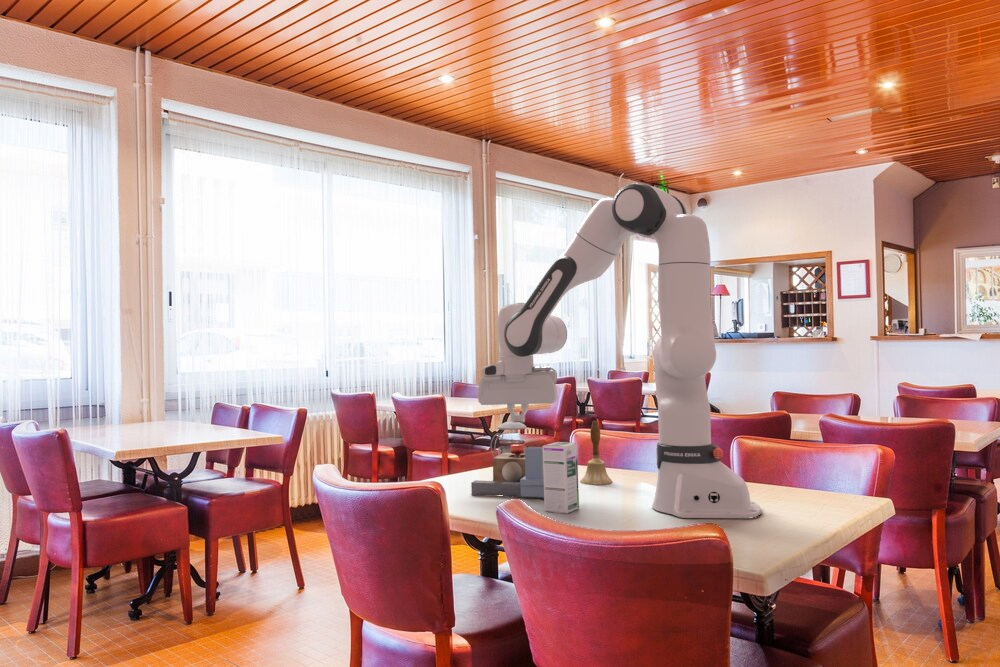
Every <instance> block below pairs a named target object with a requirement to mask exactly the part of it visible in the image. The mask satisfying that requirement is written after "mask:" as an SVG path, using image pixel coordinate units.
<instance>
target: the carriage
mask: <svg viewBox="0 0 1000 667" xmlns="http://www.w3.org/2000/svg"><path fill="white" fill-rule="evenodd" d="M520 485H521V496H527V497H544V478H543V446H528V447H526V449H525V477H523V478H522V479H520ZM527 497H526V498H527Z"/></svg>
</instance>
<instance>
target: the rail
mask: <svg viewBox="0 0 1000 667" xmlns="http://www.w3.org/2000/svg"><path fill="white" fill-rule="evenodd" d="M470 487H471V496H483V495H503V496H502V497H505V496H509V498H530V499H544V497H527V496H521V485H520V482H504V481H493V480H476V479H475V480H473V481H472V482H471V486H470ZM512 496H513V497H512Z"/></svg>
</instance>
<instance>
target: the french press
mask: <svg viewBox="0 0 1000 667" xmlns="http://www.w3.org/2000/svg"><path fill="white" fill-rule="evenodd" d="M496 428H497V429H498V430H499V431H500V430H501V431H516V430H517V431H518V430H520V431H521V430H525V429H527V425H525V424H524V423H523V422H512V416H511V420H509V421H505V422H503V423H501V424H499V425H498V426H497V427H496ZM501 435H502V436H501ZM496 436H497V437H496ZM495 437H496V439H495V442H494V444H493V441H494V438H495ZM503 438H504V433H499V432H497V433H496V434H494V436H493V437H492V439H491V441H490V452H491V455H492V457H493V458H494V457H496V456H498V455H500V454H502V453H511V445H512V444H523V445H524V453H525V449H526V448H527V446H526V445H525V444H526V441H525V440H523V439H503ZM498 439H503V440H500V441H499V444H500V446H498V448H497V449H498V450H496V444H497V441H498ZM493 445H494V450H493ZM493 451H494V453H493ZM496 451H497V452H496ZM494 454H495V456H494Z"/></svg>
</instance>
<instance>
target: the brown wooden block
mask: <svg viewBox="0 0 1000 667" xmlns="http://www.w3.org/2000/svg"><path fill="white" fill-rule="evenodd" d="M523 477H525V453H522V454H520V457H515V454H512V453H502V454H500V455H498V454H497V456H496V455H495V456H494V457H493V458H492V481H504V482H520V479H522V478H523Z"/></svg>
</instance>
